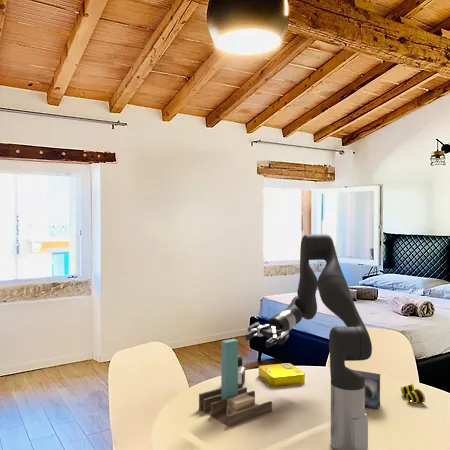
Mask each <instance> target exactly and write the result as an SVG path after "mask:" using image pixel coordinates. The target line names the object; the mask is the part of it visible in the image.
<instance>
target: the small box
mask: <svg viewBox="0 0 450 450" xmlns="http://www.w3.org/2000/svg"><path fill="white" fill-rule="evenodd" d="M354 370H355V371H358V372H360V373H361V374H362V375H363V376H364V378H365V409H372V410H379V408H380V406H381V373H376V372H375V373H374V372H369V371H362V370H361V371H360V370H356V369H354Z"/></svg>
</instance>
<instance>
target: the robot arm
mask: <svg viewBox="0 0 450 450" xmlns="http://www.w3.org/2000/svg"><path fill="white" fill-rule="evenodd" d="M299 252H300V254H299V257H300V258H299V281H298V286H297V293H296V294H297V295H296V296H294V297H293V298H292V300H291V302H290V304H289V305H288V306H287V307H286V308H285V309H283V310H281V311H279V312H278V313H275V315H273V316H271V317H270V318H268V320H267V321H266V323H265V324H260V322H259V321H257V322H254V323H252V324H251V325H249V326H248V327H247V333H245V336H244V337H245V341H250V340H251V339H252V338H254V337H259V338H260V337H267V338H269V339H267V340H266V341H265V347H266V348H270V347H272V346H274V345H276V344H278V345H283V344H284V343H285V342H286V341H287V340H288V339H289V338H290V334H289V333H290V331H291V330H292V329H293V328H294V327H295V326H296V325H298V324H299V323H300V322H301V321H302V319H303V318H304V320H307V321H308V320H312V319H314V317H315V316H316V314H317V312H318V302H317V296H316V295H317V290H318V293H319V296H320V299H321V302H322V304H323V305H324V306H325V308H326V309H328V310H329V311H330V312H331V313H333V314H334V315H335V316H336V317H337V318H338V319H340V320H341V321H342V322H343V323H344V325H345V326H334V327H332V328H331V329H330V331H329V336H328V345H329V346H328V347H329V349H328V350H329V372H330V446H331V448H333V450H368V449H369V448H368V447H369V446H368V445H369V416H368V414H367V413H366V410H365V409H366V408H365V378H364V376H363V375H362V374H361V373H360V372H358V371H359V370H357V371H355V370H356V369H353V368H352V369H351V368H349V367H347V366H346V364H345V363H346V362H347V361H348V362H350V361H351V362H352V361H356V362H357V361H361V362H362V361H365V360H368V359H370V357H371V356H372V353H373V346H372V345H373V344H372V339H371V337H370V334H369V332H368V329H367V328H366V325H365V324H364V322H363V320H362V319H363V318H362V317H361V315H360V314H359V311H358V309H357V306H356V305H355V301H354V300H353V297H352V293H351V291H350V287H349V284H348V283H347V280H346V278H345V275H344V273H343V270H342V268H341V265H340V262H339V259H338V258H339V257H338V255H337V251H336V247H335V244H334V241H333V238H332V237H331V235H329V234H325V233H311V234H304V235H303V236H302V238H301V241H300V251H299ZM310 261H325V265H324V268H323V269H322V271H321V272H320V274H319V276H318V277H317V276H316V274H315V271H313V269H312V268H311V265H310Z"/></svg>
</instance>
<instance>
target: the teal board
mask: <svg viewBox="0 0 450 450" xmlns="http://www.w3.org/2000/svg"><path fill="white" fill-rule="evenodd" d="M238 356H239V340H238V339H235V338H231V339H226V340H221V358H220V359H221V369H220V370H221V372H220V373H221V376H220V377H221V380H220V381H221V383H220V384H221V387H220V388H221V400H223V399H227V398H230V397H233V396H237V395H238Z"/></svg>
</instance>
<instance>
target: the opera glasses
mask: <svg viewBox="0 0 450 450" xmlns="http://www.w3.org/2000/svg"><path fill="white" fill-rule="evenodd" d="M400 391H401V395H402V394H403V395H402V397H403V398H405V397H406V401H407V402H408V401H410V400H412V402H411V403H412V404H414V403H413V402H418V403H420V402H424V403H425V402H426V397H425V394H424V392H423V391H422V390H421V389H420V388H415V386H414V383H412V382H411V383H410V384H409V385H405V386H401V387H400ZM404 396H405V397H404ZM411 403H410V404H411Z"/></svg>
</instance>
